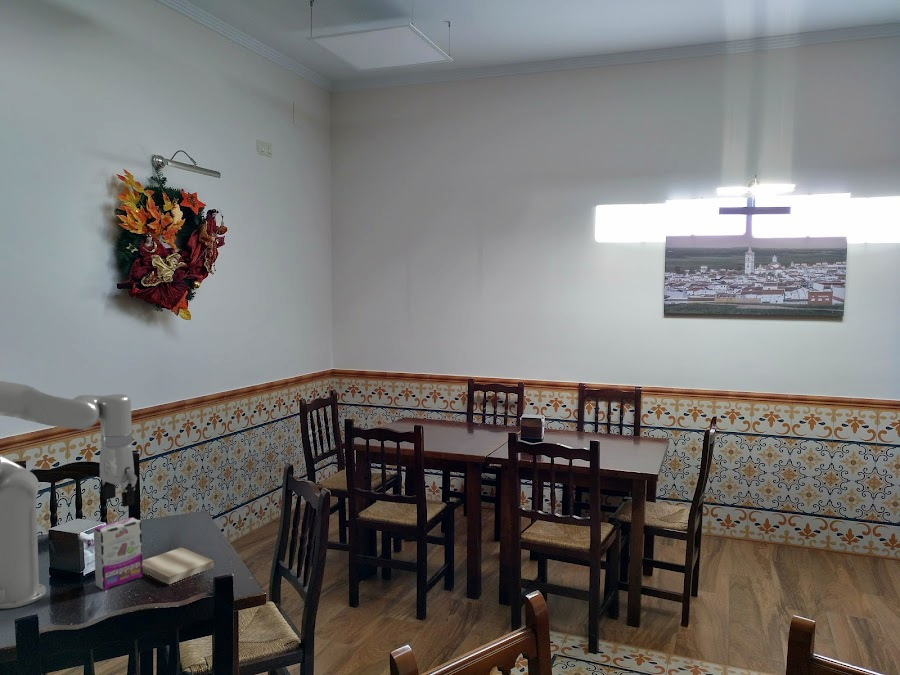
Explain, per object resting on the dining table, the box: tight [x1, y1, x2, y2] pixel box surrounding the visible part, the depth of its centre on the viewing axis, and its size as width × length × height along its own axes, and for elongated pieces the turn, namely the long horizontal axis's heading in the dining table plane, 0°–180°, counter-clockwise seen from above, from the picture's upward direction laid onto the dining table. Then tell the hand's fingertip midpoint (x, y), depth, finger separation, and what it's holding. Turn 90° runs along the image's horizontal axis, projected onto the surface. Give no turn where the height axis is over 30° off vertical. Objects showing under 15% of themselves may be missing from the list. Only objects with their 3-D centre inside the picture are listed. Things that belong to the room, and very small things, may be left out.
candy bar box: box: [93, 517, 144, 591], centre depth 187 cm, size 11×5×16 cm, turn 143°
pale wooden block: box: [142, 546, 215, 586], centre depth 196 cm, size 14×16×3 cm
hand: (118, 501), depth 186 cm, fingers open, 9 cm apart
